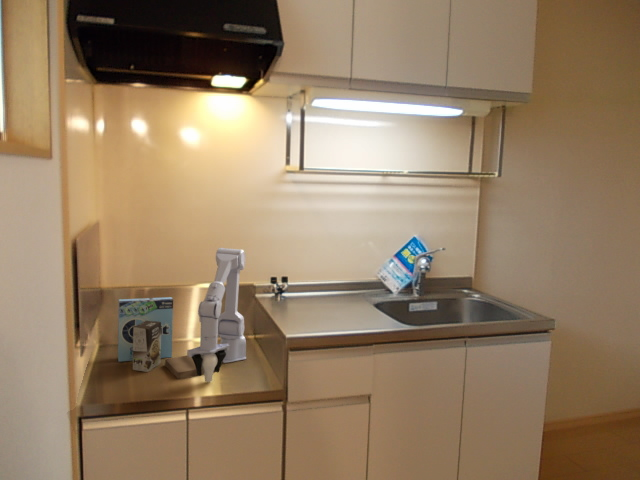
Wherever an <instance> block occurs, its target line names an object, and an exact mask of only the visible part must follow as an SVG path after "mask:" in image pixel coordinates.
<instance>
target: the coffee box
mask: <svg viewBox="0 0 640 480" xmlns="http://www.w3.org/2000/svg"><path fill="white" fill-rule="evenodd" d="M161 359H162V358H161V322H156V321H144V322H143V323H141V324H139V325H137V326H135V327H133V361H132V370H133V371H138V372H144V373H149V372H150V371H152V370H153V369H154V368H156V367H158V366H159V365H160V364H161V363H162V362H161Z"/></svg>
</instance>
